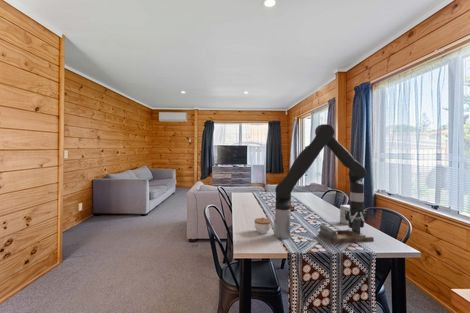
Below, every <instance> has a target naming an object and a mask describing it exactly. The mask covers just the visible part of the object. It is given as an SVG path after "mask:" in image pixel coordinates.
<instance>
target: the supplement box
mask: <svg viewBox="0 0 470 313" xmlns="http://www.w3.org/2000/svg"><path fill="white" fill-rule="evenodd" d="M339 207H340V208H339V223H342V224H345V225H348V226H349V221H347V220H346V219H345V210H347V211H349V210H350V204H340V206H339ZM350 214H351V213H350ZM350 214H349V215H350ZM352 217H353V216H352Z"/></svg>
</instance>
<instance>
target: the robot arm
mask: <svg viewBox="0 0 470 313" xmlns="http://www.w3.org/2000/svg"><path fill="white" fill-rule="evenodd" d="M314 133H315V134H314V135H315V136H314V138H313V139H312V141H311V142H310V143H309V145H307V146H306V147H305V148H304V149H302V151H300V153H299V154H298V156H297V157H296V158H295V159H294V161H293V163H292V164H291V166H290V169H289V170H288V172H287V174H286V176H284V178H283V179H282V180H281V181H280V182H278V184H277V185H275V189H274V191H275V202H274V203H275V205H274V208H275V211H274V214H275V215H274V218H275V219H273V235H274V237H275V238H276V239H282V240H284V239H285V240H286V239H290V238H291V215H292V214H291V212H292V211H291V210H292V208H291V207H292V206H291V205H292V199H291V198H292V191H293V189H294V188H295V186H296V185H297V183H298V182H299V180H301V178H302V177H303V176H304V175H305V174H306V173H307V171H308V170H309V169H310V167H311V166H312V164H314V162H315V160H316V159H317V157H318V156H319V155H320V153H321V152H322V150H323V149H324V147H325V146H327V147H328V149H330V151H331V152H332V153H333V155H335V157H336V158H337V159H338V160H339V161H340V163H341V164H342V165H343V166H344V167H345V168H346V169H349V170H348V178H349V183H350V194H349V205H350V210H349V211H347V210H345V219H346V220H347V221H349V225H348V228H349V229H352V228H353V222H352V221H353V220H354V219H355V218H358V219H361V220H360V229H363V228H364V227H365V221H368V219H369V218H368V217H369V210H367V209H364V207H365V194H364V193H365V192H364V191H365V188H364V183H362V181H361V179H364V178H366V177H367V174H368V173H367V170H366V168H365V167H364V166H363V165H362V164H361V163H360V162H359V161H357V160H356V159H355V158H354V156H353V155H352V154H351V153H350V151H349V150H347V149H346V148H345V147H344V146H343V145H342V144H341V143H340V142H339V141H338V139H336V138H335V136H334V135H335V133H336V132H335V128H334V126H333V125H331V124H325V123H323V124H318V126H317V127H316V128H315V130H314ZM350 213H351V214H350ZM349 214H350V215H349ZM352 216H353V217H352Z"/></svg>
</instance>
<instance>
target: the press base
mask: <svg viewBox="0 0 470 313" xmlns="http://www.w3.org/2000/svg"><path fill="white" fill-rule="evenodd" d="M336 232H337V233H338V236H337V239H336ZM318 235H319V236H320V237H322V238H323V239H324V240H326V241H327V242H329V243H330V244H343V243H345V244H346V243H361V242H362V243H363V242H364V243H365V242H374V239H375V238H374V237H373V236H366V237H357V238H354V237H352V236H350V235H348V234H347V229H338V230H337V229H336V230H334V229H333V228H331V227H328V226H327V225H325V224H324V225H322V224H321V225H319V231H318Z"/></svg>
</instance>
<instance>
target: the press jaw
mask: <svg viewBox="0 0 470 313" xmlns="http://www.w3.org/2000/svg"><path fill="white" fill-rule="evenodd" d="M360 221H361V219H359V217H355V219H354V220H353V221H352V222H353V228H347V229H346V230H347V234H348V235H350V236H352V237H354V238H357V237H367V236H366V234H364V233H363V232H361V227H360Z"/></svg>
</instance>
